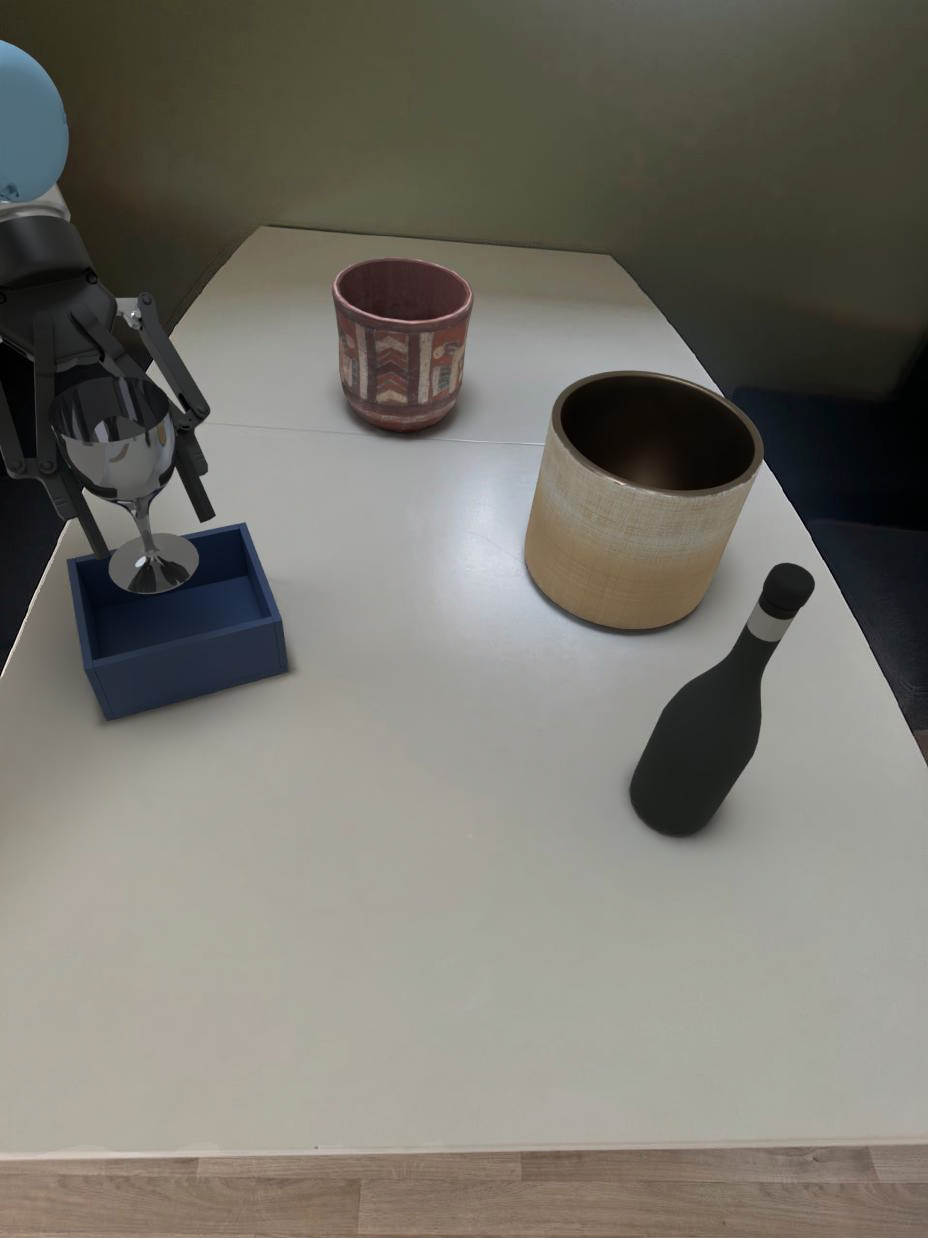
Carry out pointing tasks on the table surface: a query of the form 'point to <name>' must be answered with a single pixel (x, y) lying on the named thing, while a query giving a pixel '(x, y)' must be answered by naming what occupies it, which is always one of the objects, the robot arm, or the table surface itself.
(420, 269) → the pottery
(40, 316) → the robot arm
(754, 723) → the wine bottle
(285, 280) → the table surface
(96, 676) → the bin
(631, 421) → the planter
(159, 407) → the wine glass
